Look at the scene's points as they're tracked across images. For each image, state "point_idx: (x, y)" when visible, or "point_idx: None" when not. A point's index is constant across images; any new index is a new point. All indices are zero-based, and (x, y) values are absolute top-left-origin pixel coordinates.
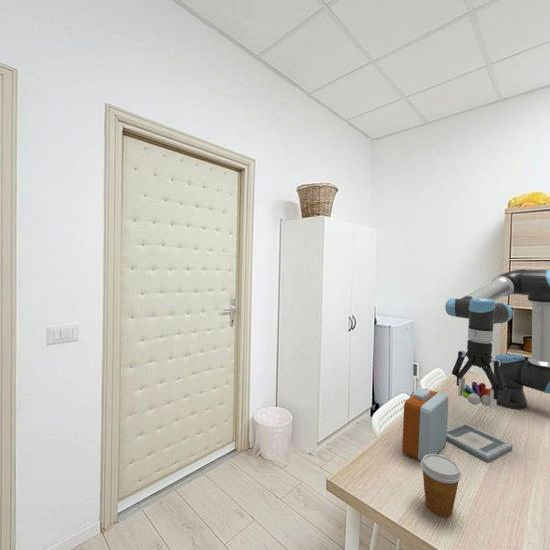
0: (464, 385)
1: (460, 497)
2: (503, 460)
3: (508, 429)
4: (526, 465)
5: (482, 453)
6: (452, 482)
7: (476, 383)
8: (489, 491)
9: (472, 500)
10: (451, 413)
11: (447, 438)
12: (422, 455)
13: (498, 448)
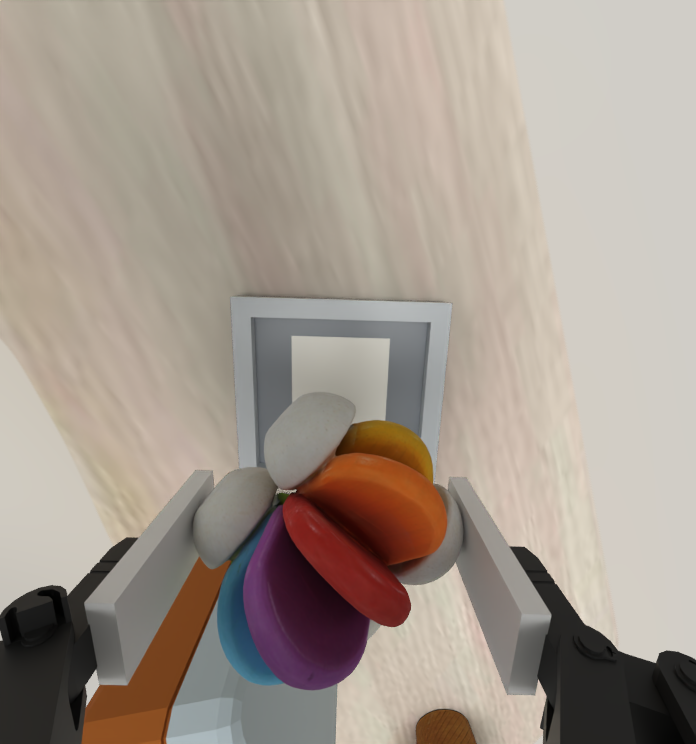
0: (169, 535)
1: (454, 668)
2: (452, 410)
3: (353, 81)
4: (513, 368)
5: None
6: None
7: (323, 687)
8: None
9: (475, 655)
10: (111, 193)
11: None
12: None
13: (432, 397)
